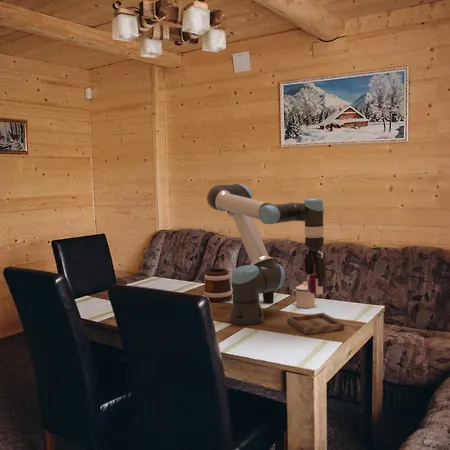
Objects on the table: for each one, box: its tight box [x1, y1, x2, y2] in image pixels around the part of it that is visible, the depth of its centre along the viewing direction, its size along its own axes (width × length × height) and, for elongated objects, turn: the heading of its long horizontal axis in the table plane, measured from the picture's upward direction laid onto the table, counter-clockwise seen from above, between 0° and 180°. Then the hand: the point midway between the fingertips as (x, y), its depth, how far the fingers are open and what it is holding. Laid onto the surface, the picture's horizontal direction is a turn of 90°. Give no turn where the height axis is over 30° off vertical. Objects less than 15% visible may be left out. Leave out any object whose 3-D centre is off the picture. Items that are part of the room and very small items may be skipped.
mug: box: [203, 268, 233, 303], centre depth 259 cm, size 20×15×15 cm
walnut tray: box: [286, 312, 345, 336], centre depth 207 cm, size 17×18×2 cm
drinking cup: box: [262, 290, 275, 305], centre depth 247 cm, size 8×8×20 cm
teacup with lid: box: [291, 281, 315, 309], centre depth 239 cm, size 12×9×12 cm
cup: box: [308, 273, 327, 295], centre depth 204 cm, size 7×10×7 cm
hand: (315, 291), depth 205 cm, fingers closed on cup, 7 cm apart
